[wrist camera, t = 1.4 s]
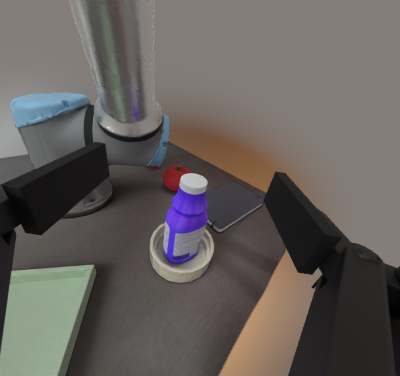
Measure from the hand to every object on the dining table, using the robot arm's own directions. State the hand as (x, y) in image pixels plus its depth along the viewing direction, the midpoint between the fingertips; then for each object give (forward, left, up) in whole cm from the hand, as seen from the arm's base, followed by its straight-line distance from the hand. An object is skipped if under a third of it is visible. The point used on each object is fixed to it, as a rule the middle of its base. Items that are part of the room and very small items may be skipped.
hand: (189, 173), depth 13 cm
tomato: (-32, +4, -24) cm, 40 cm away
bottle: (-9, +3, -24) cm, 26 cm away
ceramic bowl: (-9, +3, -24) cm, 26 cm away
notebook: (-25, +18, -24) cm, 39 cm away
